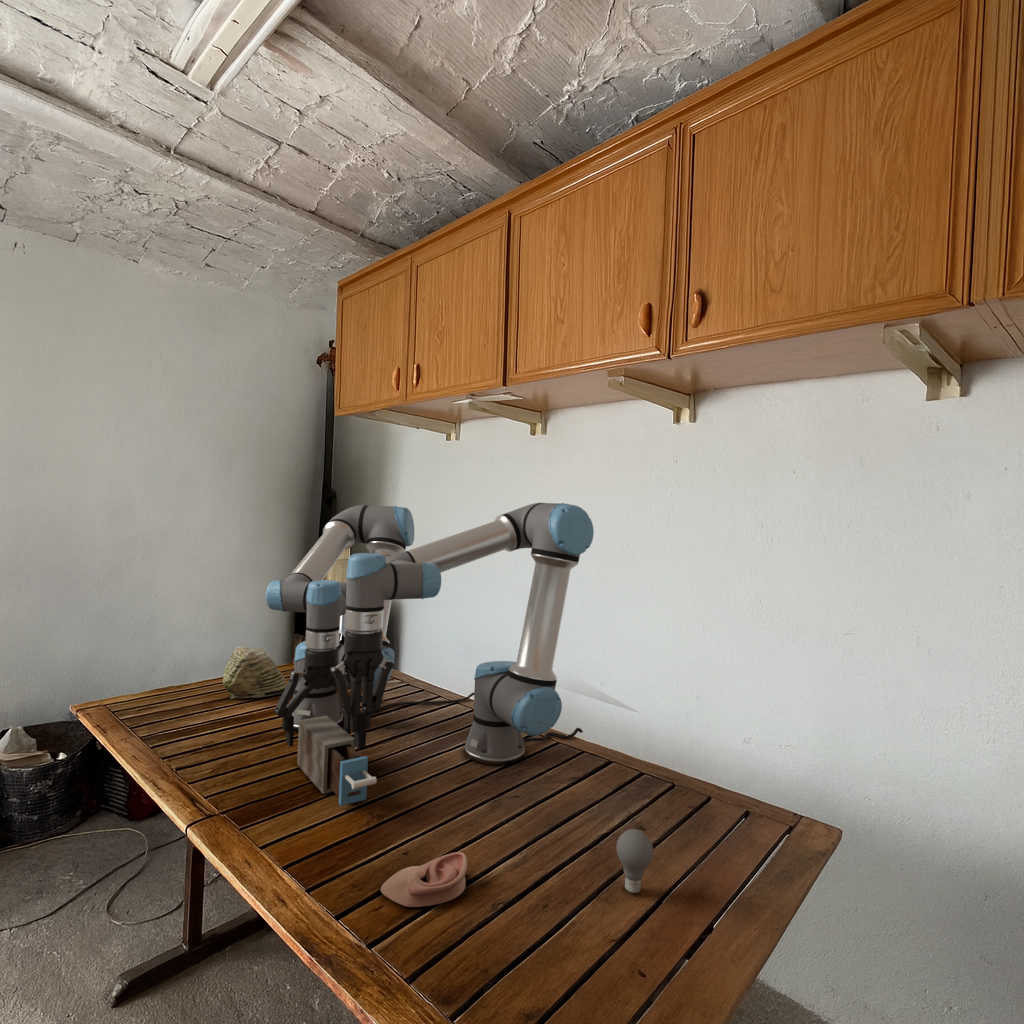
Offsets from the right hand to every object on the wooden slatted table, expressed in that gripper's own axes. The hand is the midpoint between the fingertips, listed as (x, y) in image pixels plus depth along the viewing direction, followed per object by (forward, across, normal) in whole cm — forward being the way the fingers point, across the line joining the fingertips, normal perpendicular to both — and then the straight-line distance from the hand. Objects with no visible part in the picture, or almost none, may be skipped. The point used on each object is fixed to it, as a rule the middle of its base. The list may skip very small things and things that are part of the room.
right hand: (359, 745), depth 128 cm
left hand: (+6, 0, +24) cm, 24 cm away
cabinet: (+13, 0, +19) cm, 23 cm away
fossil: (+13, +1, +85) cm, 86 cm away
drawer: (+12, 0, +7) cm, 14 cm away
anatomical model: (+13, -1, -30) cm, 33 cm away
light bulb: (+13, +28, -49) cm, 58 cm away
